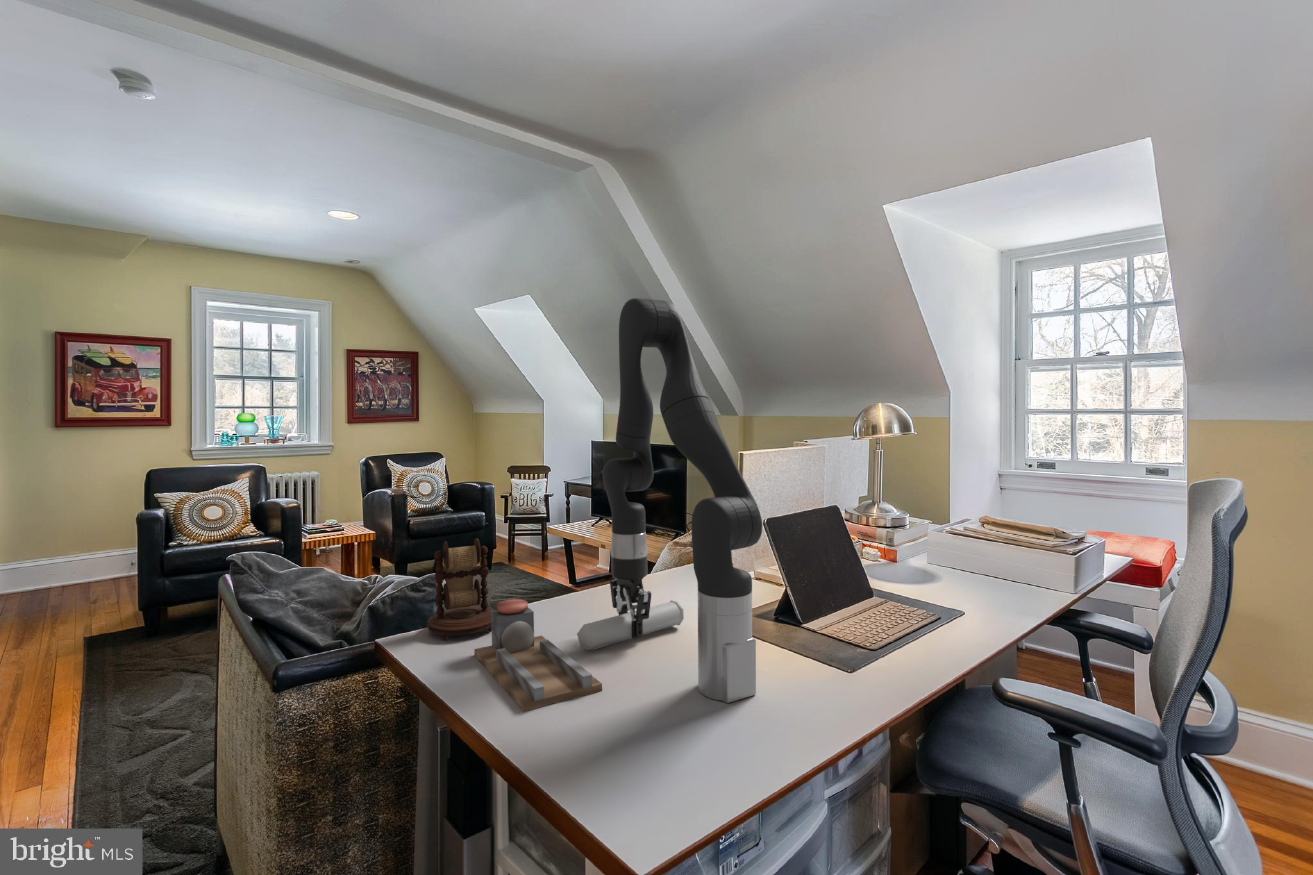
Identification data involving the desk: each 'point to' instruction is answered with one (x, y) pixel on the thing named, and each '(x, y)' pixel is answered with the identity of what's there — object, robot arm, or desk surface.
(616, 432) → the robot arm
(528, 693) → the pipe rack
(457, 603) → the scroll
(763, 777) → the desk surface
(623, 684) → the desk surface
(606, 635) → the tube
